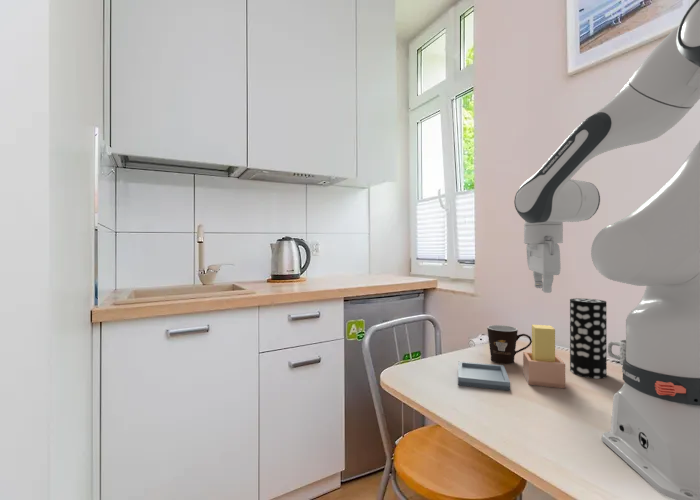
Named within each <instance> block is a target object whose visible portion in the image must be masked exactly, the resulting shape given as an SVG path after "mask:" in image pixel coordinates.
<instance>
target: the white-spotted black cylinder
mask: <svg viewBox="0 0 700 500" xmlns="http://www.w3.org/2000/svg"><path fill="white" fill-rule="evenodd" d="M607 318H608V317H607V301H606V300H602V299H596V298H582V297H581V298H577V297H576V298H570V299H569V371H570V373H572V374H575V375H576V376H579V377H583V378H588V379H605V378H607V372H608V371H607V369H608V368H607V367H608V366H607V362H608V360H607V357H608V355H607V353H608V344H607V327H608V326H607Z"/></svg>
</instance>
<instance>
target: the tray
mask: <svg viewBox="0 0 700 500" xmlns="http://www.w3.org/2000/svg"><path fill="white" fill-rule="evenodd" d="M457 368H458V370H457V372H458V373H457V375H458V376H457V385H458V386H464V387H473V388H474V387H475V388H484V389H491V390H498V391H499V390H501V391H509V392H511V381H510V379H509V375H508V372H507V370H506V368H505V364H492V363H479V362H469V361H458V367H457Z"/></svg>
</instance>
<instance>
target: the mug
mask: <svg viewBox="0 0 700 500" xmlns="http://www.w3.org/2000/svg"><path fill="white" fill-rule="evenodd" d="M613 346H618V347H619V355H618V354H614V353H613V351H612V347H613ZM607 353H608V356H609V357H611V358H614V359H615V360H619V364H620V365H622V366H623V360H624V359H626V339H620V340H619V341H609V342H608V344H607Z"/></svg>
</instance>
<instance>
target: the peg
mask: <svg viewBox="0 0 700 500" xmlns="http://www.w3.org/2000/svg"><path fill="white" fill-rule="evenodd" d="M531 340H532V343H531V353H532V360H534V361H546V362H555V355H556V328H554V326H552V325H544V324H531Z"/></svg>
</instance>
